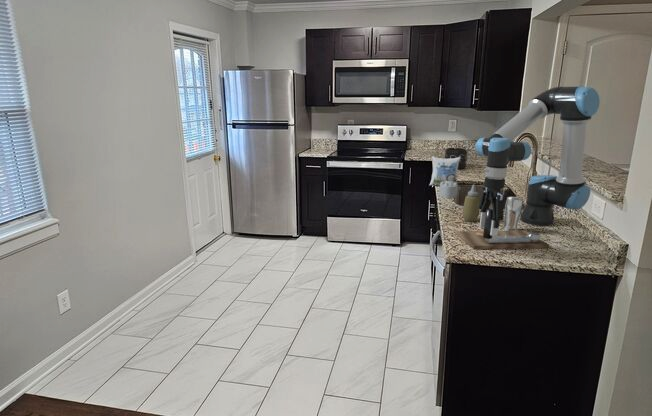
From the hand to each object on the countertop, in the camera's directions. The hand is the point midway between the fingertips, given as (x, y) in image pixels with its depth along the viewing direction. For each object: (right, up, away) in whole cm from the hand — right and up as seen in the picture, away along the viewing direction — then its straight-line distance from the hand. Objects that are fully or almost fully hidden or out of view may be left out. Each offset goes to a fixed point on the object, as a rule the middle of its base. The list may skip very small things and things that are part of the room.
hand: (488, 231), depth 172 cm
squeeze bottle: (+5, +3, +36) cm, 37 cm away
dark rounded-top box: (+40, +42, +175) cm, 185 cm away
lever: (+10, -4, +2) cm, 11 cm away
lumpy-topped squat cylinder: (+8, +17, +84) cm, 86 cm away
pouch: (+12, +24, +110) cm, 113 cm away
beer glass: (+19, -1, +23) cm, 30 cm away
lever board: (+8, -5, +8) cm, 12 cm away
